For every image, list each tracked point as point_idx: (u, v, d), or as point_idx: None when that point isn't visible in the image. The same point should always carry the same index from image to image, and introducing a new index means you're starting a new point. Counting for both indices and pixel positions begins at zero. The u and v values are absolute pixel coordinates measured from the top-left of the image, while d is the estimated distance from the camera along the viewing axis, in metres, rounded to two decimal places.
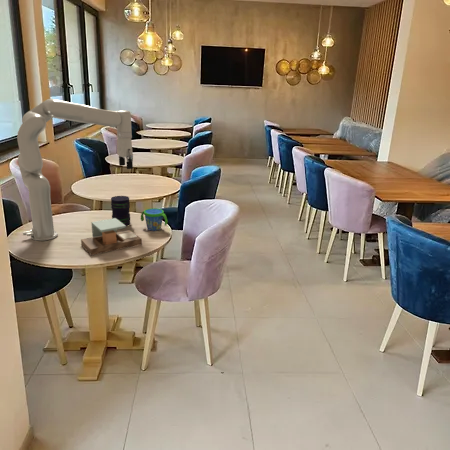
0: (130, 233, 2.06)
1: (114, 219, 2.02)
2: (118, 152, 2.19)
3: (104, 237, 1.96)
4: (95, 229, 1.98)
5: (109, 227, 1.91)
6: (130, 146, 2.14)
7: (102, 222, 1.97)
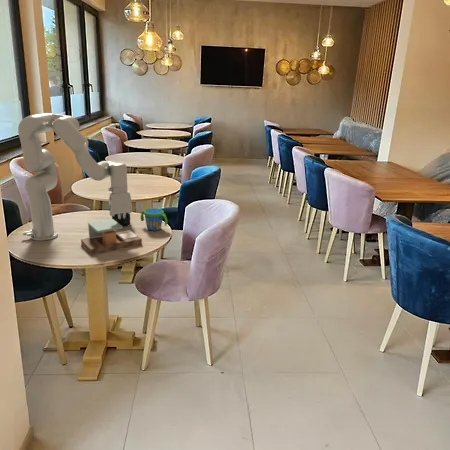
0: (130, 233, 2.06)
1: (111, 220, 2.01)
2: (117, 210, 1.93)
3: (104, 237, 1.96)
4: (92, 230, 1.98)
5: (105, 228, 1.90)
6: None
7: (99, 223, 1.96)
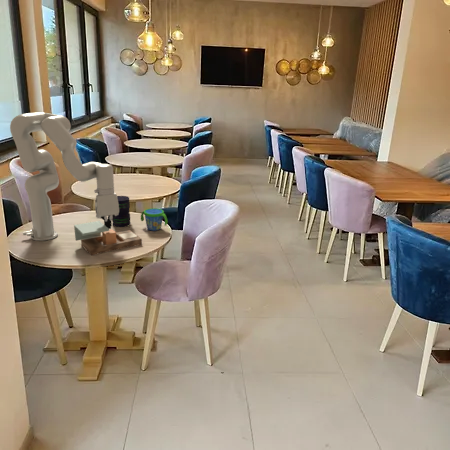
0: (130, 233, 2.06)
1: (98, 222, 1.97)
2: (104, 212, 1.90)
3: (104, 237, 1.96)
4: (78, 232, 1.94)
5: (91, 230, 1.86)
6: None
7: (85, 225, 1.93)
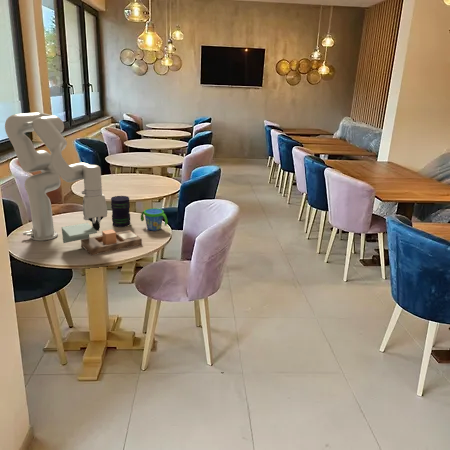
0: (130, 233, 2.06)
1: (86, 224, 1.94)
2: (91, 214, 1.86)
3: (104, 237, 1.96)
4: (65, 234, 1.91)
5: (79, 233, 1.83)
6: None
7: (73, 227, 1.89)
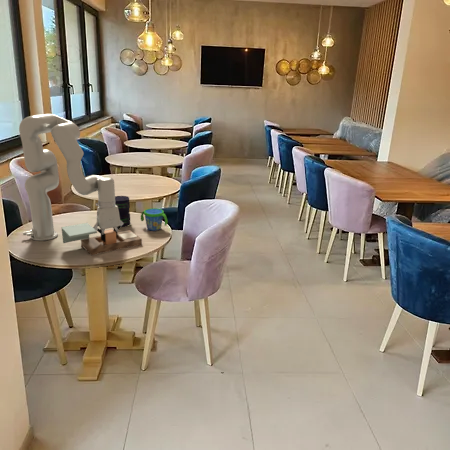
0: (130, 233, 2.06)
1: (86, 224, 1.94)
2: (105, 225, 1.92)
3: None
4: (65, 234, 1.91)
5: (79, 233, 1.83)
6: None
7: (72, 227, 1.89)
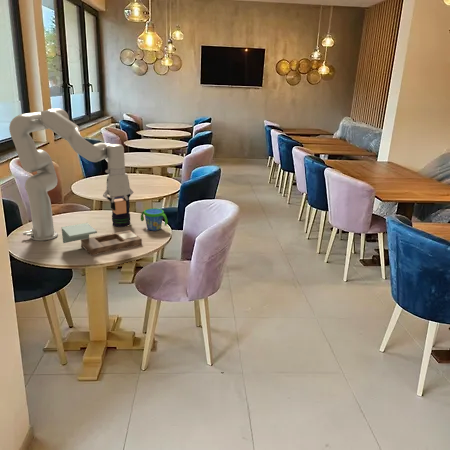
0: (130, 233, 2.06)
1: (86, 224, 1.94)
2: (115, 193, 1.90)
3: None
4: (65, 234, 1.91)
5: (79, 233, 1.83)
6: None
7: (72, 227, 1.89)
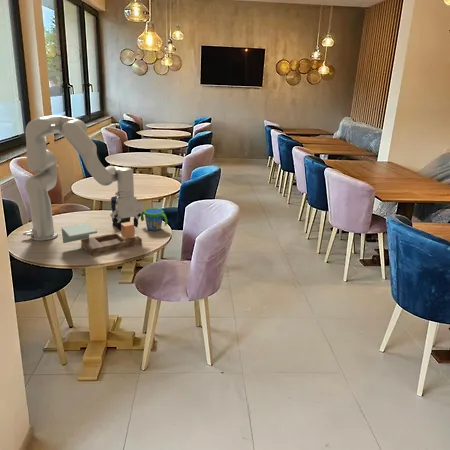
0: None
1: (86, 224, 1.94)
2: (124, 214, 1.96)
3: (123, 229, 2.01)
4: (65, 234, 1.91)
5: (79, 233, 1.83)
6: None
7: (72, 227, 1.89)
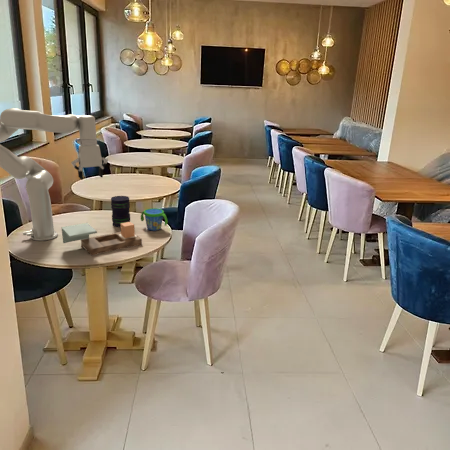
0: None
1: (86, 224, 1.94)
2: (86, 163, 1.94)
3: (123, 229, 2.01)
4: (65, 234, 1.91)
5: (79, 233, 1.83)
6: None
7: (72, 227, 1.89)
